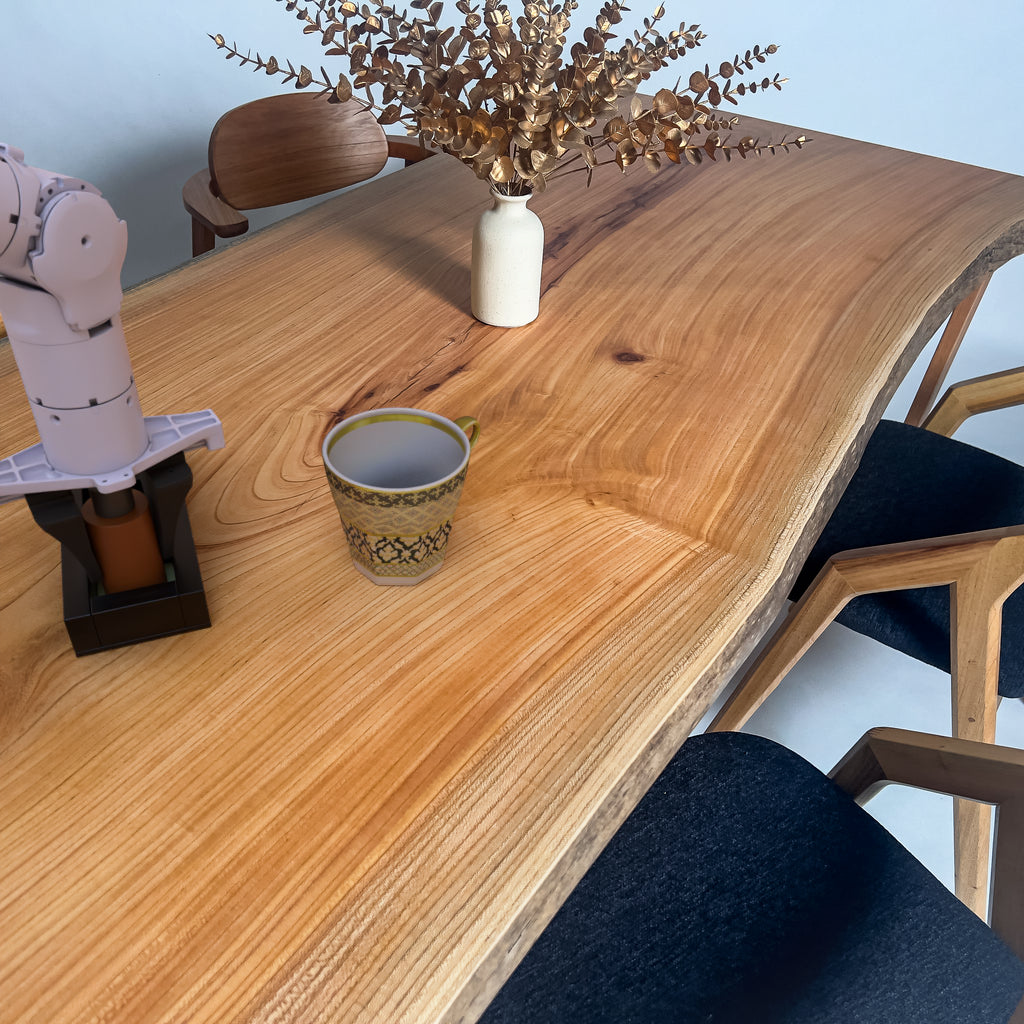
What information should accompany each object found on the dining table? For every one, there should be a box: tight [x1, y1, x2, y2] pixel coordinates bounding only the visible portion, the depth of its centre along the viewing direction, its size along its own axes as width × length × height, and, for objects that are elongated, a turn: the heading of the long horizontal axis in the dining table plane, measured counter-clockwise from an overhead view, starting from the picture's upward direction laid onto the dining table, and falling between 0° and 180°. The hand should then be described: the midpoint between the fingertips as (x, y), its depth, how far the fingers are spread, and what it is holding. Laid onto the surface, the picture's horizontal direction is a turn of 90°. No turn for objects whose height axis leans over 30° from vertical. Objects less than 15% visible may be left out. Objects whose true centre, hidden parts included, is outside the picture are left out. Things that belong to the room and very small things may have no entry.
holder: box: [59, 473, 213, 658], centre depth 66 cm, size 8×22×3 cm, turn 22°
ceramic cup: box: [321, 406, 481, 587], centre depth 65 cm, size 13×10×10 cm
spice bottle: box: [81, 487, 168, 595], centre depth 59 cm, size 4×4×9 cm
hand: (129, 561), depth 60 cm, fingers closed on spice bottle, 4 cm apart
